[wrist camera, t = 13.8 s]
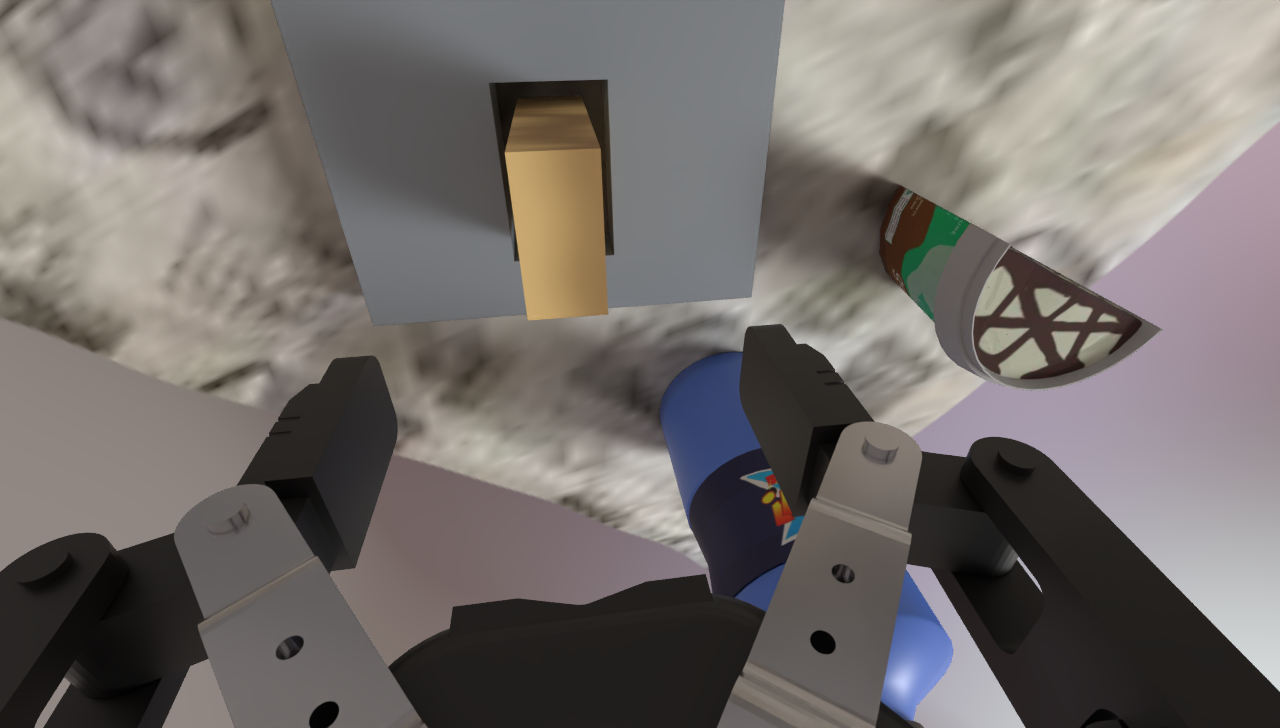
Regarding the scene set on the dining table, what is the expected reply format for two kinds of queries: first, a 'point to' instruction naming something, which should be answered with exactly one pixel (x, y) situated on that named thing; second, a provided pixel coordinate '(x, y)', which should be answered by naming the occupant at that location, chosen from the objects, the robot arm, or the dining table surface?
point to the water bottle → (769, 520)
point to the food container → (1002, 302)
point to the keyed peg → (557, 207)
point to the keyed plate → (474, 151)
